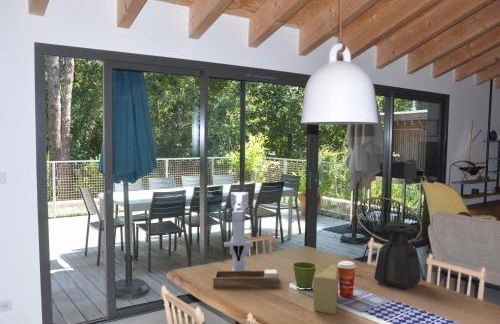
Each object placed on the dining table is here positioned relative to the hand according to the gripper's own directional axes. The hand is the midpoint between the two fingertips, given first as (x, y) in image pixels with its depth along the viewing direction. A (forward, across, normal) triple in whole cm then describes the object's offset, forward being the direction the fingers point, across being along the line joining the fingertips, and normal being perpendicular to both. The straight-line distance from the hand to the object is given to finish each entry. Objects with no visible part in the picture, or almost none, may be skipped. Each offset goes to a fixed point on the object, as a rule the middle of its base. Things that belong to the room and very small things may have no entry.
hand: (238, 260), depth 215 cm
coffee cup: (+11, +50, -21) cm, 55 cm away
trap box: (+10, +4, -4) cm, 12 cm away
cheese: (+11, +41, -31) cm, 52 cm away
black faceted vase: (+11, +79, -5) cm, 80 cm away
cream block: (+8, +16, -4) cm, 18 cm away
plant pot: (+11, +32, -11) cm, 35 cm away
